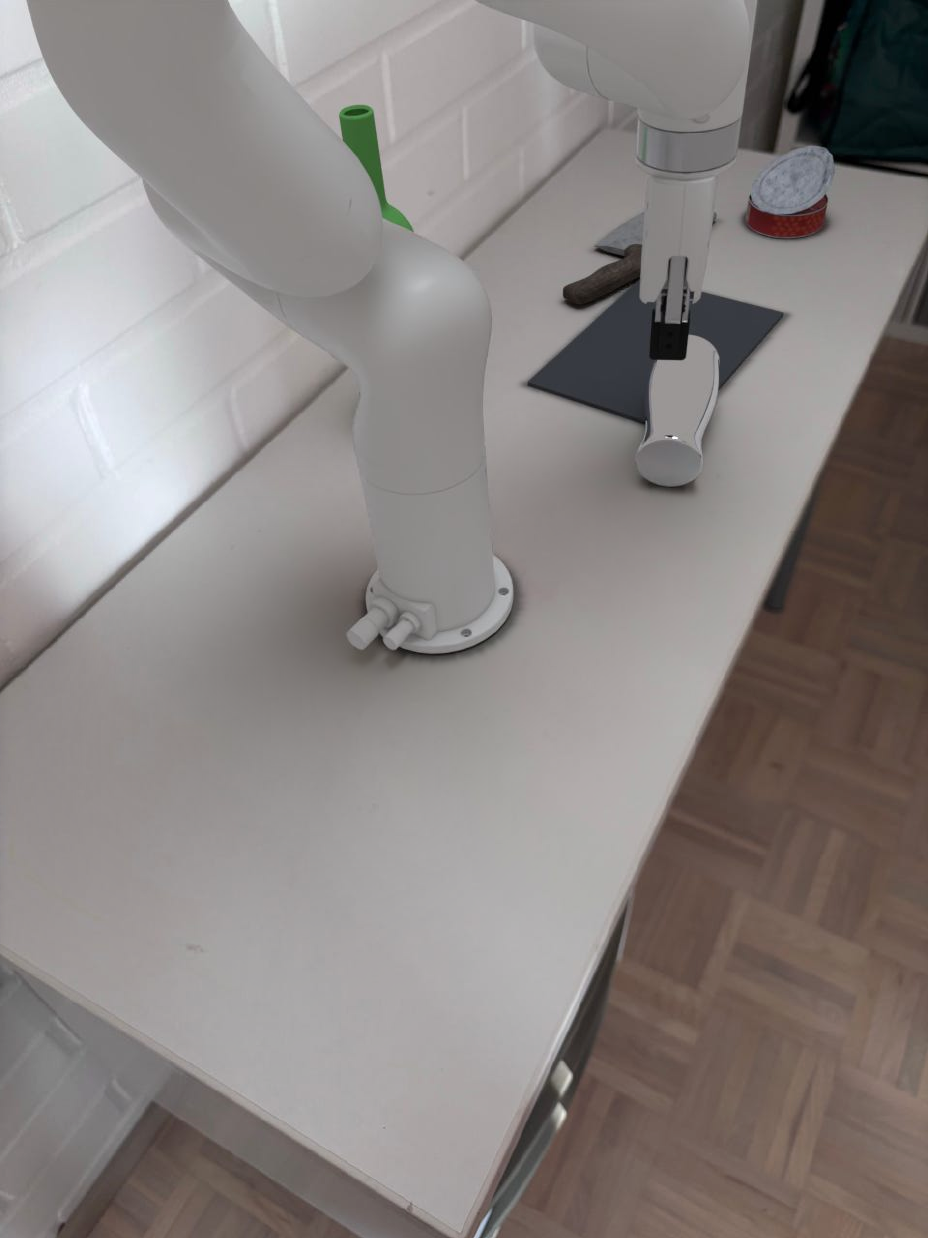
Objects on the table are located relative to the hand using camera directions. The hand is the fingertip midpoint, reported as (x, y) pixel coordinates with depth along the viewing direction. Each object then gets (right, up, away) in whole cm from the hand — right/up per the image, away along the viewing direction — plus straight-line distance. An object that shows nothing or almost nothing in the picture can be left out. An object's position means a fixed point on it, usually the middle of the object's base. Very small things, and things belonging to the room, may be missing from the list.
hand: (667, 354), depth 84 cm
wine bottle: (-25, -2, +16) cm, 30 cm away
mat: (+4, +6, +21) cm, 22 cm away
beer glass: (+1, -9, +3) cm, 10 cm away
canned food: (+24, +28, +40) cm, 54 cm away
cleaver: (+3, +23, +36) cm, 43 cm away
